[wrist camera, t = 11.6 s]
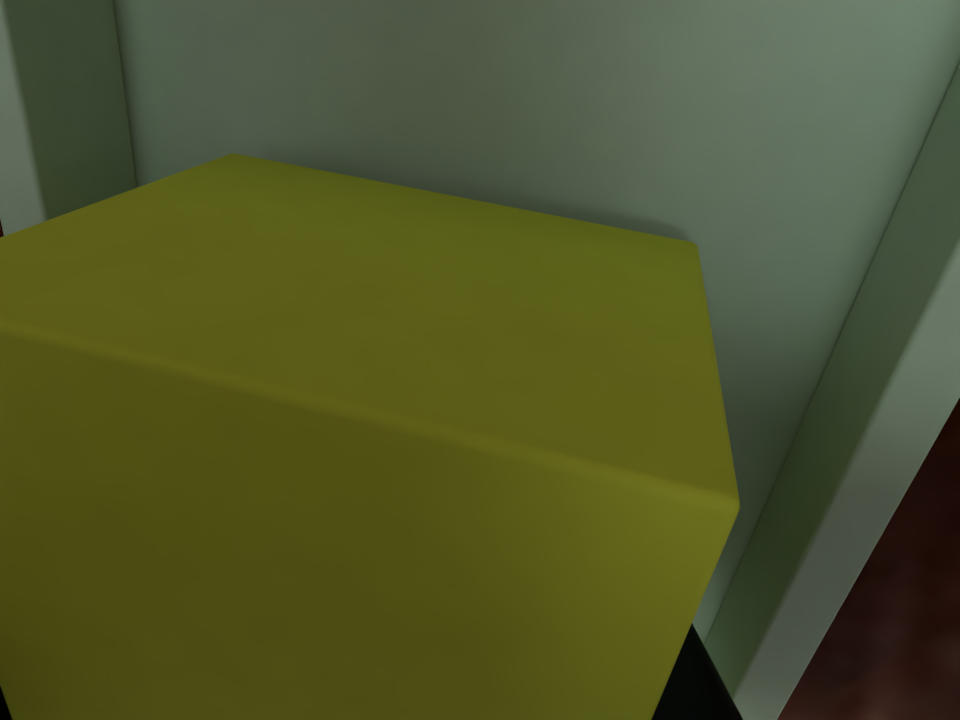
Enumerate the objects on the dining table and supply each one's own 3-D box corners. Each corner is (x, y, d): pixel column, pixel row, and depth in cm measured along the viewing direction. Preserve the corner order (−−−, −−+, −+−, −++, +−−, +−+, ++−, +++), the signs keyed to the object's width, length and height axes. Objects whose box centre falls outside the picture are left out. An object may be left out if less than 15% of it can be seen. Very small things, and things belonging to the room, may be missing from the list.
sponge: (700, 241, 7) (745, 505, 3) (565, 687, 10) (516, 1045, 7) (230, 149, 7) (-150, 287, 4) (255, 597, 11) (66, 879, 7)
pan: (1214, -376, 5) (1521, -580, 3) (638, 844, 13) (636, 969, 12) (38, -447, 6) (-201, -617, 4) (196, 704, 15) (135, 799, 13)
